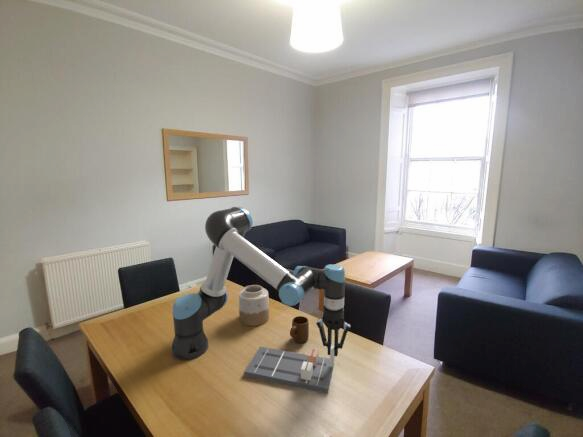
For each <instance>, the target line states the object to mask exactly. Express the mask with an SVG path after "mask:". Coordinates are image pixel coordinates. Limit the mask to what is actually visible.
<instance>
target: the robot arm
mask: <svg viewBox="0 0 583 437" xmlns="http://www.w3.org/2000/svg"><path fill="white" fill-rule="evenodd" d="M253 223H254V222H253V217H252V215H251V213H250V211H248V209H246V208H244V207H243V206H237V207H236V206H233V207H230V208H228V209H227V208H226V209H222V210H216V211H213V212H212V213H210V215H209V216H207V219H206V220H205V225H204V230H205V234H206V236H207V238H208V239H209V241H210V242H211V243H212V244H213V245H214V246H215V249H214V252H213V256H212V259H211V263H210V266H209V269H208V273H207V276H206V279H205V281H203V282H202V283H201V285H200V287H199V291H198V292H197V293H194V292H191V293H187V294H183V295H181V296H179V297H178V298H176V299H175V300H174V302H173V304H172V317H173V330H174V338H173V341H172V344H171V354H172V357H173V358H174V359H176V360H181V361H182V360H183V361H187V360H193V359H195V358H197V357H198V358H199V357H200V356H202V355H203V354H205V353H206V351H207V350H208V348H209V339H208V338H207V336H206V333H205V331H204V324H203V322H204V320H206V319H207V318H209V317H211V316H212V315H213V314H215V313H216V312H219V311H220V310H221V309H222V308H223V307H224V306H225V305H226V304H227V302H228V299H229V296H228V295H229V294H228V293H227V292H228V291H227V287H226V281H227V278H228V275H229V272H230V269H231V265H232V262H233V260H234V259H237V260H238V262H241V264H243V265H245V266H246V267H247V268H248V269H250V270H251V271H252V272H253V273H255V275H258V277H260V278H261V279H262V280H263V281H265V282H266V283H267V284H269V285H270V286H271V287H273V288H274V289H275V290H277V292H278V296H279V299H280V301H281V303H283V304H284V305H286V306H289V307H294V306H297V304H298V303H300V302H301V301H302V300H303V299H304V298H305V296H307V294H309V292H310V291H312V290H313V289H314V290H321V291H323V316H322V317H321V319H320V318H318V319H317V320H316V323H315V324H316V326H317V328H318V330H319V333H320V334H319V336H320V339H321V342H322V346H323V347H326V348H327V356H329V357H330V358H329V359H330V364H331V365H334V366H335V361H336V357H338V355H339V349H340V350H342V349H343V347H344V343H345V340H346V337H347V334H348V332H349V331H350V329H351V326H352V325H351V323H348V322H346V320H345V317H344V316H345V308H344V306H345V284H346V277H345V276H346V275H345V274H346V269H345V268H344V267H343V266H342V265H340V264H326V265H325V266H324V269H321V268H316V267H310V266H307V265H303V266H302V265H297V266H296V267H295V268H294V270H293V271H292V272H293V273H291V272H290V271H289V270H287V269H286V268H284V267H283V266H282V265H280V264H279V263H278V262H276V261H275V260H274V259H273V258H271V257H270V256H269V255H267V254H266V253H264V252H263V251H262V250H260V249H259V248H258V247H256V246H255V245H254V244H253V243H251V242H250V241H249V240H247V239H246V238H245V235H246V233H248V232H249V231H250V230H251V229H252V227H253ZM324 325H325V327H326V328H327V336H326V331H325V327H324ZM342 327H343V332H342V335H341V339H340V342H339V332H340V329H341V328H342ZM333 331H334V340H333V342H334V343H332V339H333V336H332V335H333Z"/></svg>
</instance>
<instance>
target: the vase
mask: <svg viewBox="0 0 583 437" xmlns="http://www.w3.org/2000/svg"><path fill="white" fill-rule="evenodd" d="M269 300H270V299H269V291H268V290H267V289H266V288H264V287H263V286H261V285H259V284H252V285H246V286H245V287H244V288H243V289H241V290H240V291H239V292H238V313H239V317H238V318H239V322H240V323H241V324H242V325H244V326H247V327H258V326H261V325H264V324H265V323H267V322H268V321H269V320H270V318H269V317H270V308H269V306H270V304H269V303H270V301H269Z"/></svg>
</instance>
